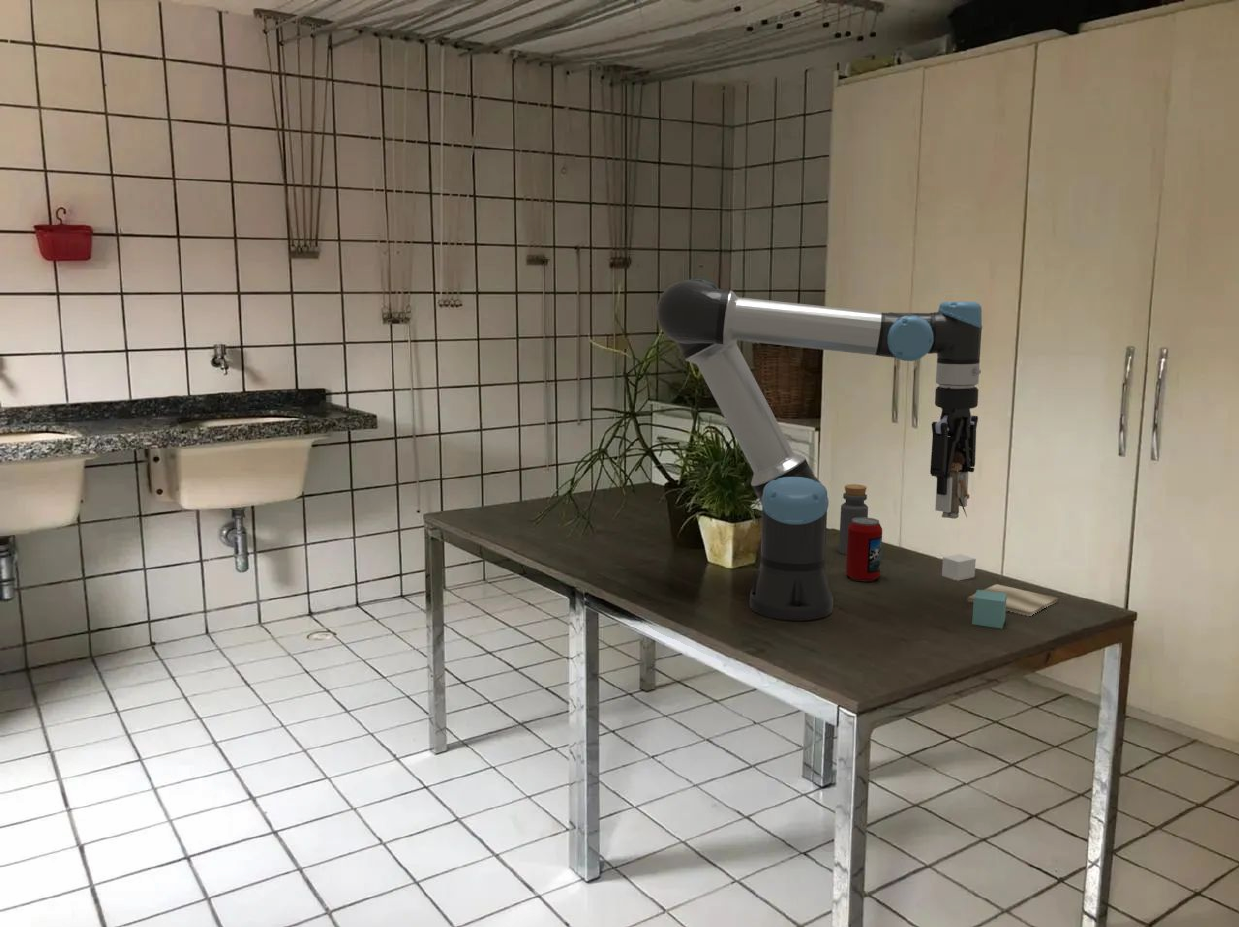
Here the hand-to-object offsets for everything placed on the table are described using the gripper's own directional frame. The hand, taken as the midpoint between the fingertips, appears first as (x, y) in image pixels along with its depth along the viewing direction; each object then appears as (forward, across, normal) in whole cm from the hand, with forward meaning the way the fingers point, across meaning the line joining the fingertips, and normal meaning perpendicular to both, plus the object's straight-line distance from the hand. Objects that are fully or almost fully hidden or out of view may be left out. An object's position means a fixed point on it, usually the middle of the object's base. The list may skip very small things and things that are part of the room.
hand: (951, 508), depth 189 cm
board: (+17, +5, -10) cm, 21 cm away
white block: (+17, +14, +4) cm, 23 cm away
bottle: (+17, +14, +30) cm, 37 cm away
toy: (+2, 0, 0) cm, 2 cm away
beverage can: (+17, -2, +18) cm, 25 cm away
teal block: (+17, -9, -12) cm, 23 cm away
